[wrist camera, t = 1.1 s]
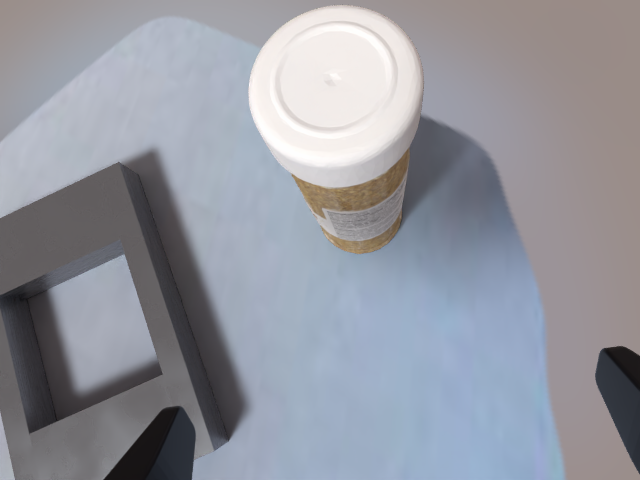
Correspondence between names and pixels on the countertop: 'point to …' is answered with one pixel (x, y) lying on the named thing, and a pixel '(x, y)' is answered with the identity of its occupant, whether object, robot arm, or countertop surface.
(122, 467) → the robot arm
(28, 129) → the countertop surface
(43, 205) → the gray rectangular frame
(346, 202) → the sprinkles bottle
